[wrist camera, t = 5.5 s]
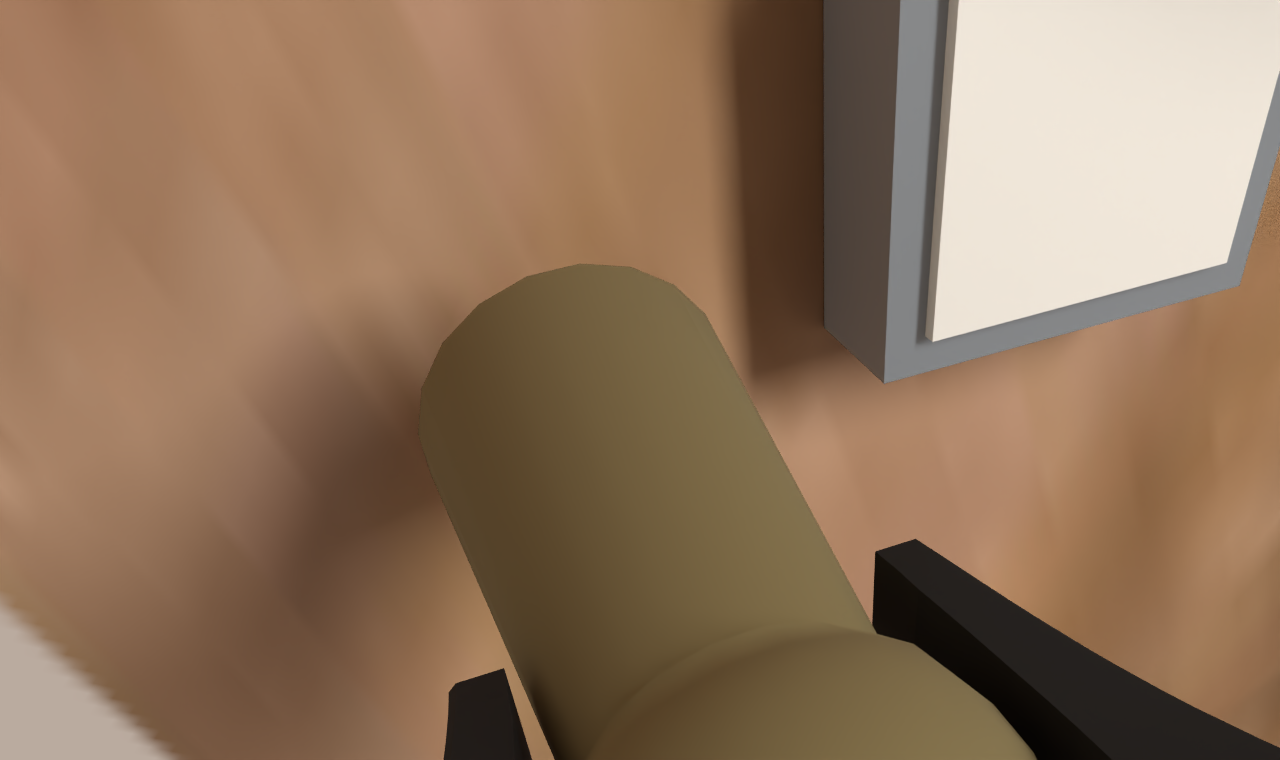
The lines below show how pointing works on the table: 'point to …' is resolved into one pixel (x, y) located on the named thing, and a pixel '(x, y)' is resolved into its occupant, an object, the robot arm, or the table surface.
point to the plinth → (1036, 166)
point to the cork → (663, 544)
